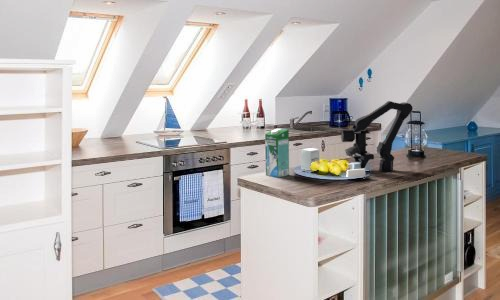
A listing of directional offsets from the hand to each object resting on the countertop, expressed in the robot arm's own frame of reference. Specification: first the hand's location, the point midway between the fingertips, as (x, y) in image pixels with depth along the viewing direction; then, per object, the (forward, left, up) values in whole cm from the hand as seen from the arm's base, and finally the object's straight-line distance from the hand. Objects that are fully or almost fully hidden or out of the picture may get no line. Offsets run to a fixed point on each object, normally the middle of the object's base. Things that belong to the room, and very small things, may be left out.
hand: (360, 169), depth 265 cm
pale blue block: (0, 0, -1) cm, 1 cm away
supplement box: (+25, -11, -1) cm, 27 cm away
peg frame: (+11, +8, -1) cm, 14 cm away
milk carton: (+45, -10, -1) cm, 46 cm away
